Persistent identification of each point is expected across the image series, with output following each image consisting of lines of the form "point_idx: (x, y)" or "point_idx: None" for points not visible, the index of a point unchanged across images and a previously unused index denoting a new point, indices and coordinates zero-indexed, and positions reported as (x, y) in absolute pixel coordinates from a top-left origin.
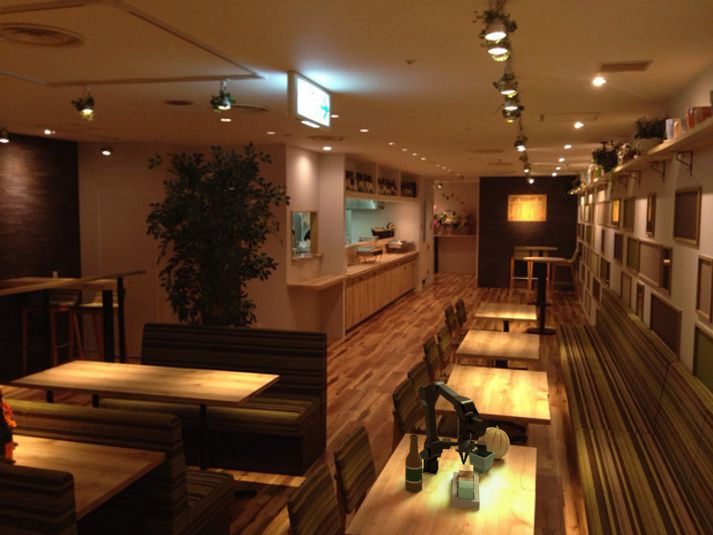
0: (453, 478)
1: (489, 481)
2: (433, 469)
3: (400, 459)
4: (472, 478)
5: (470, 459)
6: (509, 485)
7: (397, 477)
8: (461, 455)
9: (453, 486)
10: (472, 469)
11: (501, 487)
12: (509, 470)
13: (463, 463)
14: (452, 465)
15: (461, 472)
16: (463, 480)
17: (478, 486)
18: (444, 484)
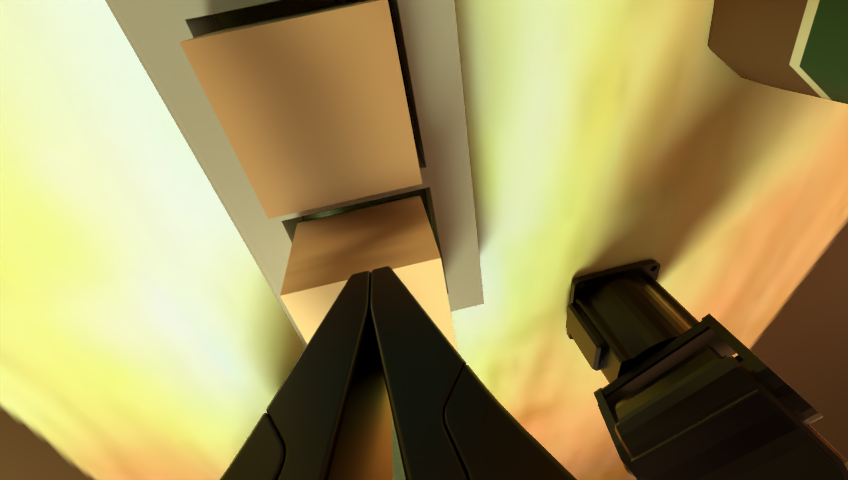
0: (470, 212)
1: (234, 321)
2: (604, 296)
3: (740, 333)
4: (270, 207)
5: (393, 441)
6: (76, 328)
7: (833, 146)
8: (458, 450)
9: (449, 44)
10: (302, 322)
11: (107, 285)
12: (194, 447)
13: (372, 279)
14: (490, 380)
15: (408, 248)
16: (349, 116)
17: (198, 150)
18: (521, 170)
